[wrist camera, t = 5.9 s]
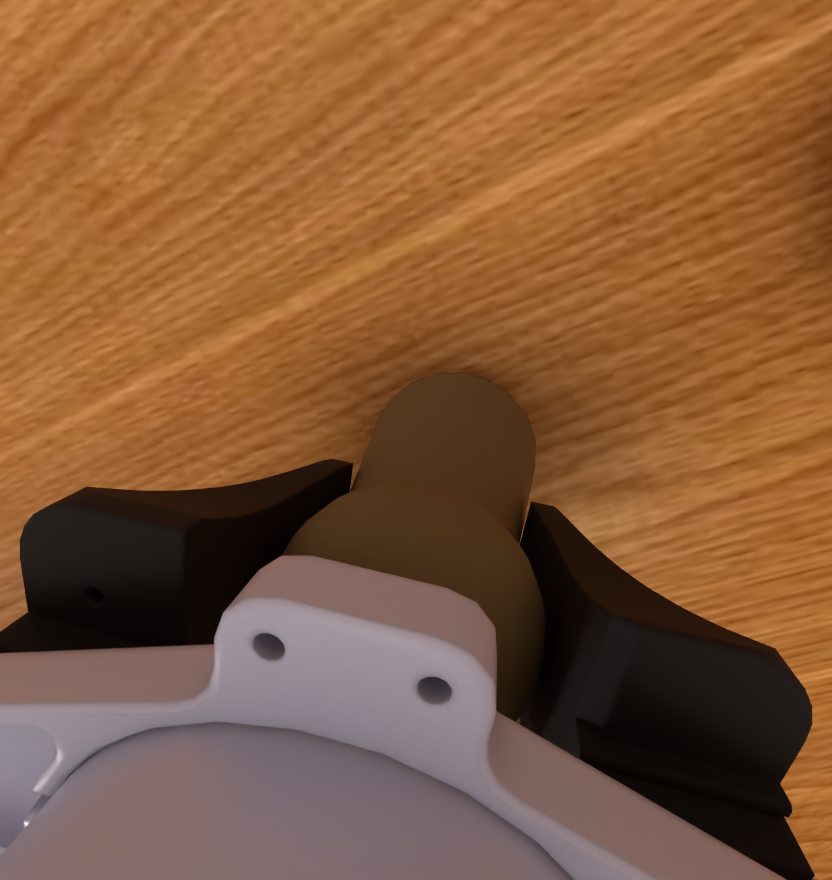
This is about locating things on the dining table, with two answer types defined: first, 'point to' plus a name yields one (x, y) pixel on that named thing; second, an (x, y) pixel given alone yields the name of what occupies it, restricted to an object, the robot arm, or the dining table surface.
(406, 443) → the olive rounded upright piece
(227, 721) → the robot arm
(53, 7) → the dining table surface
